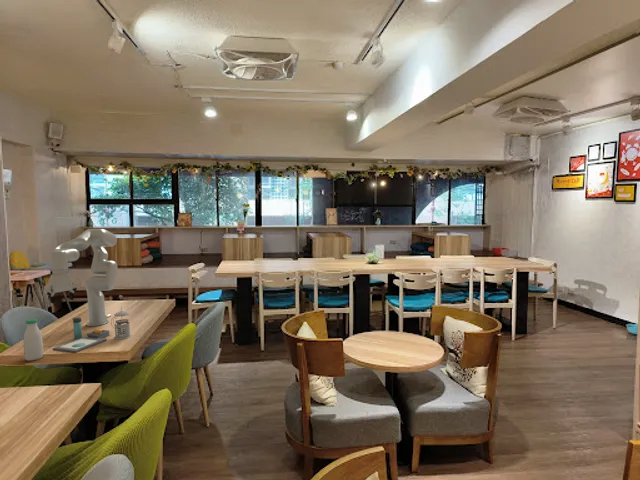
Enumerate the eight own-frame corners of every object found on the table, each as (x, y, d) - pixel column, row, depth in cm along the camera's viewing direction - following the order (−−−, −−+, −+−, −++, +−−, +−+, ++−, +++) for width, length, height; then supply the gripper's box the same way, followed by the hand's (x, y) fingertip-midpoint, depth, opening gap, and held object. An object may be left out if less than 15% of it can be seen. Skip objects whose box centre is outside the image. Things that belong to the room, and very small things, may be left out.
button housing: (98, 334, 244) (98, 329, 243) (109, 335, 241) (109, 330, 241) (87, 338, 236) (87, 333, 236) (98, 339, 234) (98, 334, 233)
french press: (124, 340, 233) (122, 297, 230) (106, 338, 235) (104, 296, 233) (135, 334, 242) (133, 293, 240) (118, 333, 244) (116, 293, 242)
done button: (98, 333, 241) (98, 328, 241) (103, 333, 240) (103, 328, 240) (93, 335, 237) (92, 330, 237) (98, 335, 236) (98, 330, 236)
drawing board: (84, 338, 237) (84, 336, 237) (106, 340, 232) (106, 338, 232) (53, 349, 218) (53, 347, 218) (76, 352, 213) (75, 350, 213)
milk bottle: (47, 356, 208) (44, 318, 206) (32, 361, 201) (29, 322, 199) (36, 354, 211) (33, 317, 209) (21, 360, 203) (18, 321, 202)
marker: (78, 336, 240) (77, 317, 239) (84, 337, 238) (82, 317, 237) (72, 339, 236) (71, 318, 235) (77, 339, 234) (76, 319, 233)
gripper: (73, 269, 239) (75, 297, 240) (40, 273, 225) (42, 303, 226) (79, 270, 235) (81, 299, 236) (45, 274, 221) (48, 305, 222)
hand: (62, 301), depth 231 cm, fingers open, 9 cm apart
